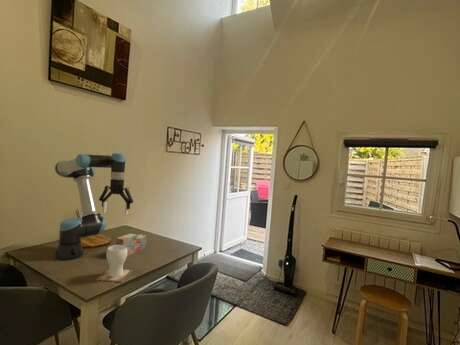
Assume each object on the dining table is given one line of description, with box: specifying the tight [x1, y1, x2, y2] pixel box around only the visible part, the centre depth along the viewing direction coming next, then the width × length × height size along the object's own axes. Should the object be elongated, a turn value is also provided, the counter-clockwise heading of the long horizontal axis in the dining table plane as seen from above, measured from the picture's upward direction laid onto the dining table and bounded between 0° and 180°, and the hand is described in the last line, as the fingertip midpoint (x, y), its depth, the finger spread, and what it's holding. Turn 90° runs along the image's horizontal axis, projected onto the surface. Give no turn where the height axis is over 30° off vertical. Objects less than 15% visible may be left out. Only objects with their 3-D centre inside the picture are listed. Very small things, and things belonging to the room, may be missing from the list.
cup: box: [105, 244, 128, 277], centre depth 139 cm, size 11×11×15 cm
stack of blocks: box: [115, 232, 147, 257], centre depth 173 cm, size 21×6×12 cm, turn 156°
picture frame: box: [94, 267, 134, 283], centre depth 139 cm, size 14×14×1 cm
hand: (115, 213), depth 153 cm, fingers open, 13 cm apart
